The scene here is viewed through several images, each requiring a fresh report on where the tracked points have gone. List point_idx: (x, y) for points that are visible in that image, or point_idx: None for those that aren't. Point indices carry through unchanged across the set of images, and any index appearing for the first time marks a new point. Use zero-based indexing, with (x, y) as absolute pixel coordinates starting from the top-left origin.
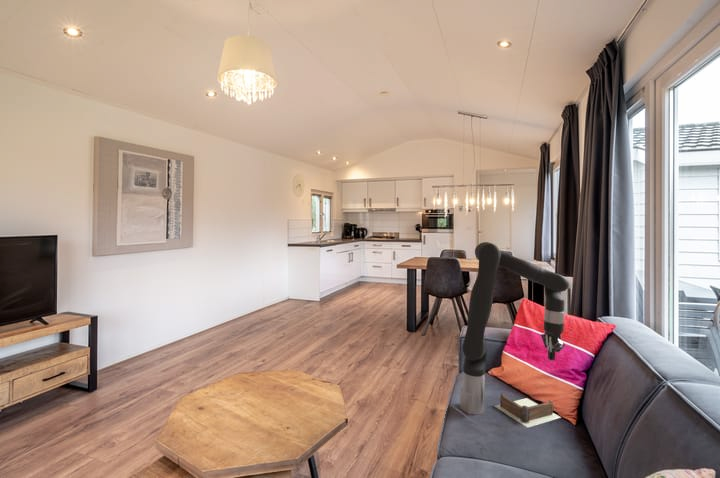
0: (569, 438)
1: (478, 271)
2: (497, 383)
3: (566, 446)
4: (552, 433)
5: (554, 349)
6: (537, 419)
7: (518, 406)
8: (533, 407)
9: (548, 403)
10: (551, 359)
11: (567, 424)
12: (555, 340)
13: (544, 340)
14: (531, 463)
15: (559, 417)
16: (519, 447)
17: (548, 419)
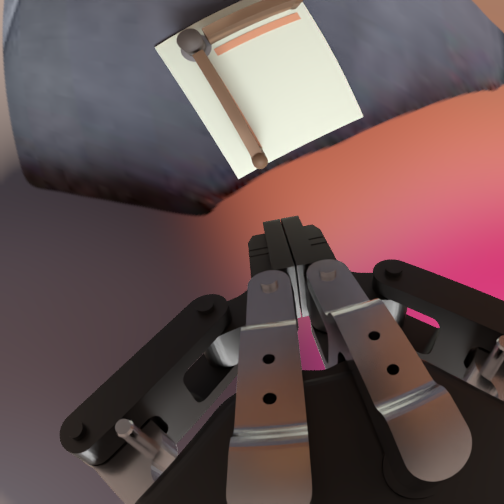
0: (126, 159)
1: None
2: (451, 76)
3: (87, 138)
4: (142, 117)
5: (173, 335)
6: (212, 92)
7: (214, 22)
8: (204, 73)
9: (248, 146)
10: (252, 236)
11: (204, 183)
12: (159, 484)
13: (461, 314)
14: (20, 47)
15: (236, 172)
16: (67, 20)
17: (217, 130)
